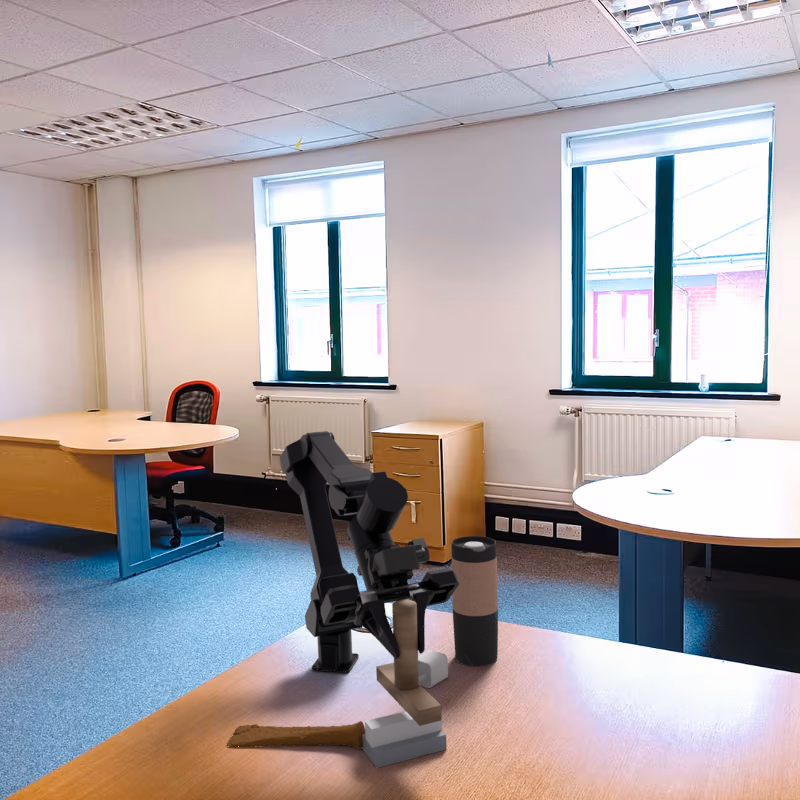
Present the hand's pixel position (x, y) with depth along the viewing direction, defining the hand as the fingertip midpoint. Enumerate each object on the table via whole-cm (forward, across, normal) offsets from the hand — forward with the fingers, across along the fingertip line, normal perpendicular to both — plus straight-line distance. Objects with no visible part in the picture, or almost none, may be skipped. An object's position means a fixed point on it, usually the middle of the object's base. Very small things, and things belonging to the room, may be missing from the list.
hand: (410, 654), depth 101 cm
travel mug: (-6, +22, +25) cm, 34 cm away
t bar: (+4, 0, +6) cm, 7 cm away
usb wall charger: (-2, +10, +22) cm, 24 cm away
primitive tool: (+3, -13, +17) cm, 22 cm away
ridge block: (+8, -1, +10) cm, 13 cm away
